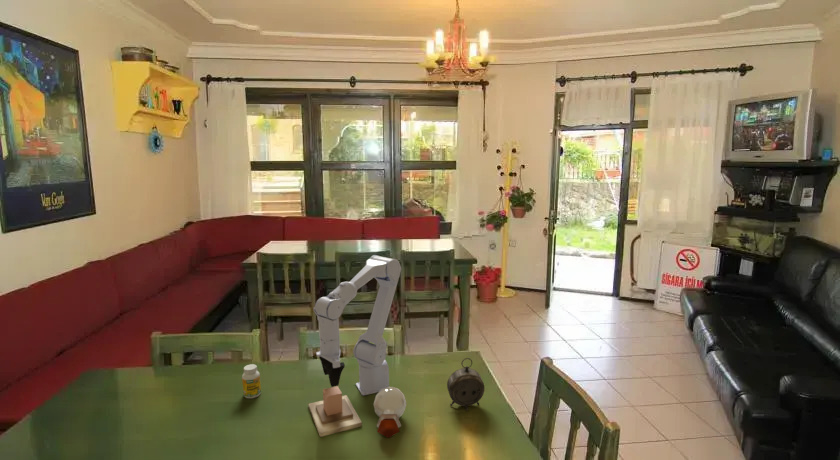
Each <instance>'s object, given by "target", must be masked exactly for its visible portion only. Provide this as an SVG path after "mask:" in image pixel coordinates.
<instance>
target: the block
mask: <svg viewBox="0 0 840 460" xmlns="http://www.w3.org/2000/svg"><path fill="white" fill-rule="evenodd" d="M342 396H343V393H342V390H341V389H340V388H339V385H338V386H334V387H327V388H323V389H322V401H323V405H324V410H325V412H326V414H327V416H329V415H333V414H337V413H341V412H343V411H342Z"/></svg>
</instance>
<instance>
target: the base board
mask: <svg viewBox="0 0 840 460" xmlns="http://www.w3.org/2000/svg"><path fill="white" fill-rule="evenodd" d="M308 410H309V413H310V415H311V417H312V420H313V422H314V425H315V427H316V430H317V432H318V435H319V437H322V438H323V437H325V436H329V435H333V434H336V433H337V434H338V433H341V432H344V431H348V430H353V429H355V428H359V427H360V428H361V427H363V424H362V423H363V422H362V421H361V418H360V417H359V415H358V413H357V411H356V410H355V408H354V406H353V404H352V402H351V400H350V399H349V397H348V395H346V394H345V395H342V411H343V412H341V413H337V414H333V415H329V416H327V414H326V412H325V410H324V405H323V400H319V401H314V402H310V403H308Z"/></svg>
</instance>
